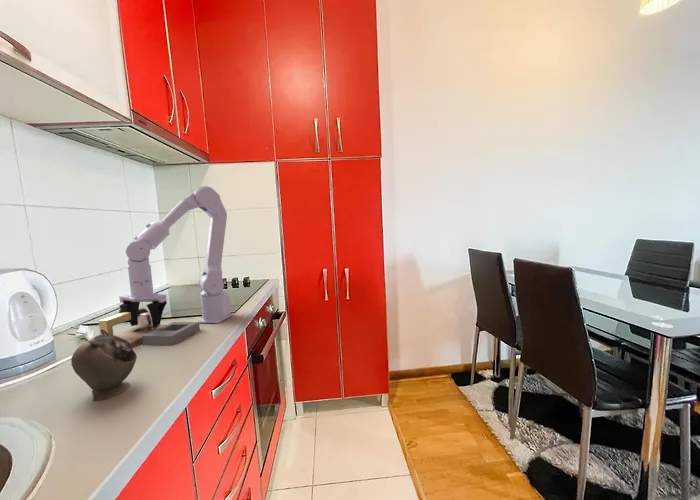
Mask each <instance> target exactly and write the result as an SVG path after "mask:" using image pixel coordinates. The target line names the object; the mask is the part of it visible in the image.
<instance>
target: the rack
mask: <svg viewBox="0 0 700 500" xmlns="http://www.w3.org/2000/svg"><path fill="white" fill-rule="evenodd" d="M164 325H165V326H163V327H161V328H158V329H156V330H154V331H152V332H150V333H147V334H145V335H143V336H142V338H143V343H142V345H144V346H145V345H149V346H150V345H151V346H173V345H175V344H178V343H179V342H181V341H183V340H185V339H186V338H189V336H192V335H194V334H196V333H197V332H199V331H201V326H200V323H199V322H197V321H172V322H170V323H168V324H164Z"/></svg>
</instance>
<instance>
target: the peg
mask: <svg viewBox="0 0 700 500" xmlns="http://www.w3.org/2000/svg"><path fill="white" fill-rule="evenodd" d="M137 320H138V324H137V326H138V329H139V332H148V331H150V330H153V329H154V326H153V324H152V318H151V314H150V311H148V313H142V314H139V315H137Z"/></svg>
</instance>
